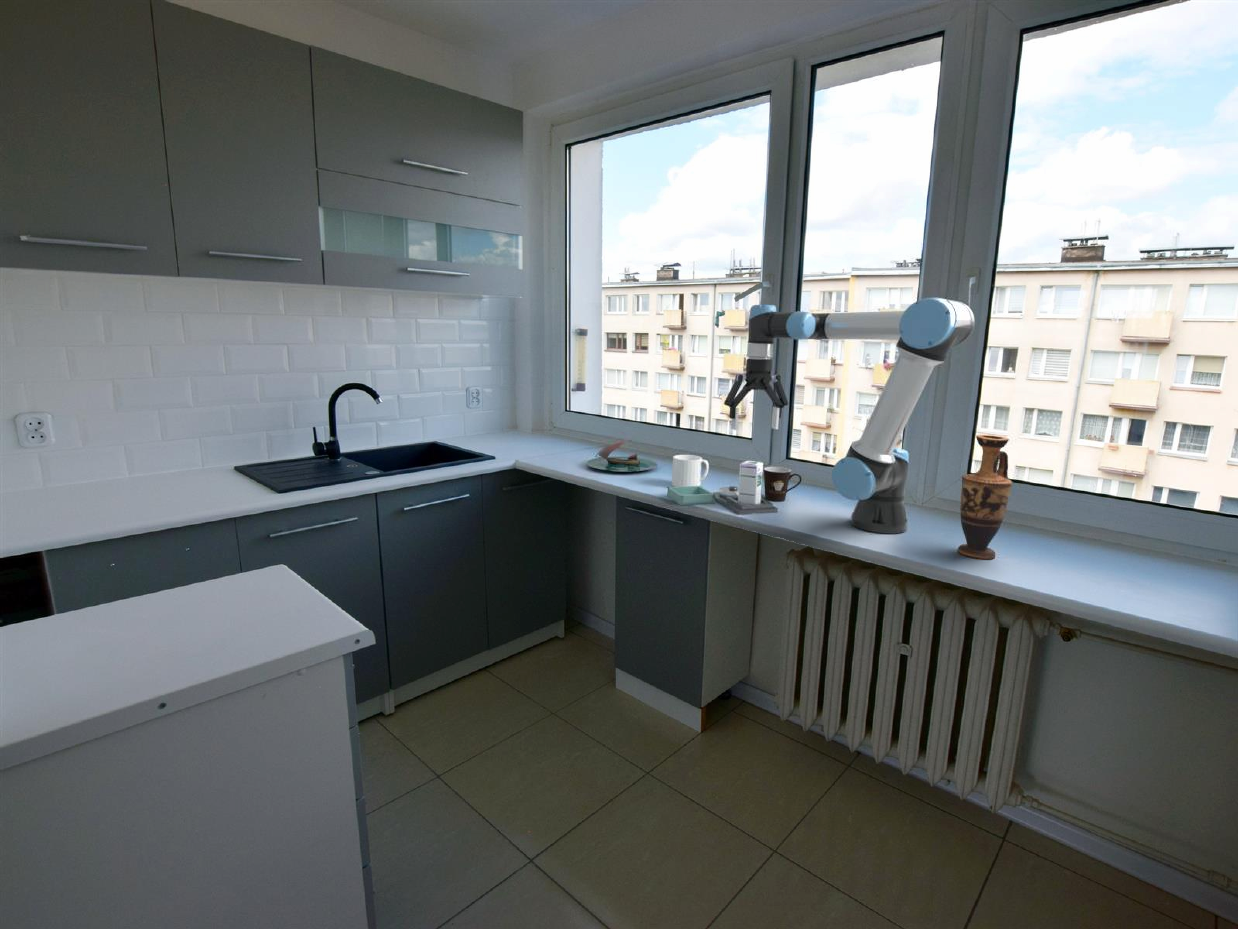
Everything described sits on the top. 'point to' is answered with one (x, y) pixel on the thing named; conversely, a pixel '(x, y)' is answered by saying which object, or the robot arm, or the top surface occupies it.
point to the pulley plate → (730, 500)
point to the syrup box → (750, 482)
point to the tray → (691, 495)
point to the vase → (985, 498)
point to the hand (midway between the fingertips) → (754, 429)
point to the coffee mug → (777, 483)
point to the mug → (687, 470)
